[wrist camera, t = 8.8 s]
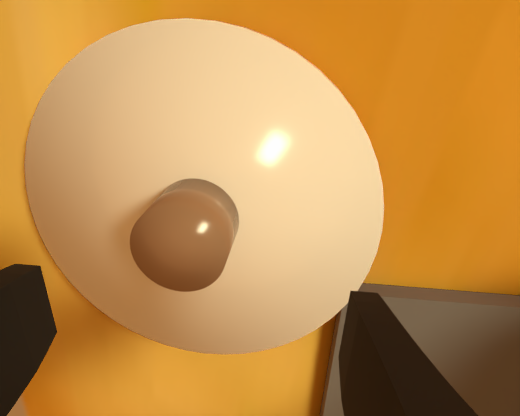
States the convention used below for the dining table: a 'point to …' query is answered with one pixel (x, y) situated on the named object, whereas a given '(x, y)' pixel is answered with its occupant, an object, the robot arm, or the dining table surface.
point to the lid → (204, 186)
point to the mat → (451, 344)
